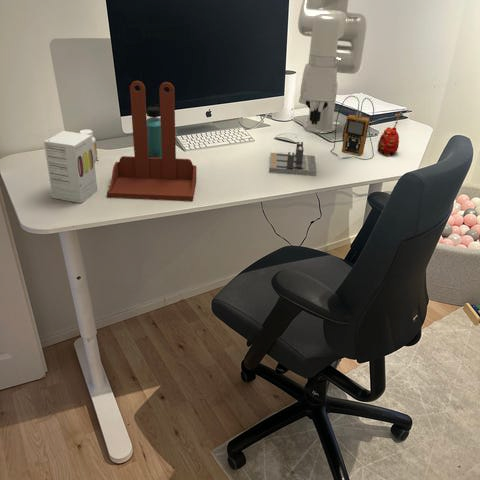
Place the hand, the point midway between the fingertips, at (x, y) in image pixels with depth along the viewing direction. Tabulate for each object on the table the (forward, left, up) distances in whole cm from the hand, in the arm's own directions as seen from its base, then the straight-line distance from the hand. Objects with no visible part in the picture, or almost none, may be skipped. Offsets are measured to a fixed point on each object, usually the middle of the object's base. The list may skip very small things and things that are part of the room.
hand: (314, 123), depth 157 cm
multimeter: (-17, +15, -17) cm, 29 cm away
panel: (-5, -5, -17) cm, 18 cm away
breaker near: (0, -6, -15) cm, 16 cm away
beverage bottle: (+6, -48, -17) cm, 51 cm away
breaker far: (-10, -3, -15) cm, 18 cm away
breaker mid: (-5, -3, -15) cm, 16 cm away
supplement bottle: (+2, -71, -17) cm, 73 cm away
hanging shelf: (+19, -46, -17) cm, 53 cm away
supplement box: (+26, -67, -17) cm, 74 cm away
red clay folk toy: (-23, +29, -17) cm, 41 cm away
